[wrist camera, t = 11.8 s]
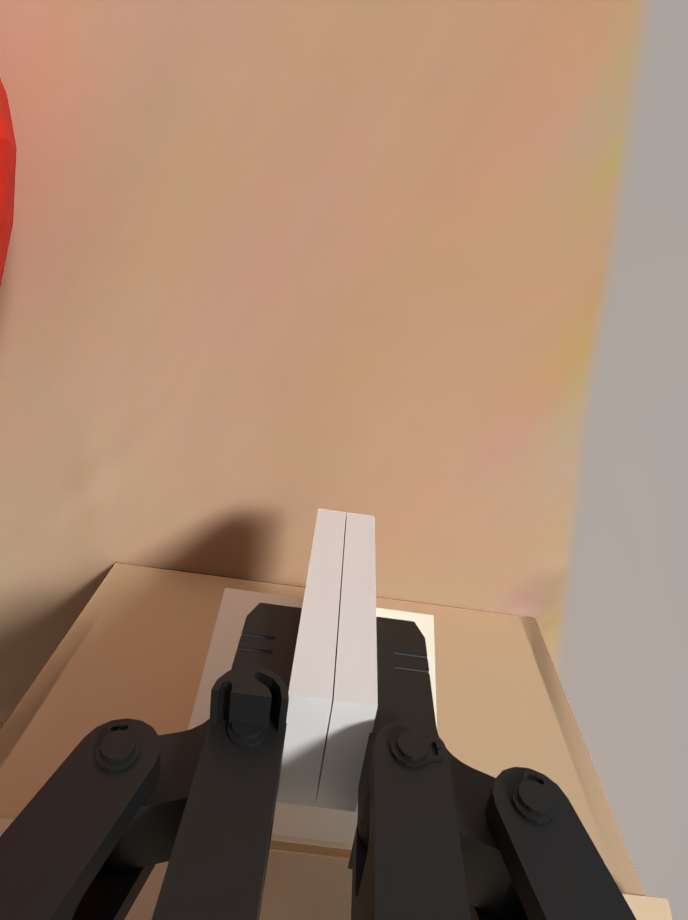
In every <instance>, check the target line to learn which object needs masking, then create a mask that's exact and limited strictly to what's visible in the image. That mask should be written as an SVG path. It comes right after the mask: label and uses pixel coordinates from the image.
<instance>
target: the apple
mask: <svg viewBox="0 0 688 920" xmlns="http://www.w3.org/2000/svg"><path fill="white" fill-rule="evenodd" d="M15 166H16V144H15V138H14V132H13V127H12V121H11V116H10V110H9V104H8V99H7V94H6V91H5V89H4V87H3V84H2V82H1V79H0V285H1V280H2V275H3V270H4V265H5V260H6V255H7V250H8V245H9V240H10V235H11V230H12V225H13V210H14V188H15Z"/></svg>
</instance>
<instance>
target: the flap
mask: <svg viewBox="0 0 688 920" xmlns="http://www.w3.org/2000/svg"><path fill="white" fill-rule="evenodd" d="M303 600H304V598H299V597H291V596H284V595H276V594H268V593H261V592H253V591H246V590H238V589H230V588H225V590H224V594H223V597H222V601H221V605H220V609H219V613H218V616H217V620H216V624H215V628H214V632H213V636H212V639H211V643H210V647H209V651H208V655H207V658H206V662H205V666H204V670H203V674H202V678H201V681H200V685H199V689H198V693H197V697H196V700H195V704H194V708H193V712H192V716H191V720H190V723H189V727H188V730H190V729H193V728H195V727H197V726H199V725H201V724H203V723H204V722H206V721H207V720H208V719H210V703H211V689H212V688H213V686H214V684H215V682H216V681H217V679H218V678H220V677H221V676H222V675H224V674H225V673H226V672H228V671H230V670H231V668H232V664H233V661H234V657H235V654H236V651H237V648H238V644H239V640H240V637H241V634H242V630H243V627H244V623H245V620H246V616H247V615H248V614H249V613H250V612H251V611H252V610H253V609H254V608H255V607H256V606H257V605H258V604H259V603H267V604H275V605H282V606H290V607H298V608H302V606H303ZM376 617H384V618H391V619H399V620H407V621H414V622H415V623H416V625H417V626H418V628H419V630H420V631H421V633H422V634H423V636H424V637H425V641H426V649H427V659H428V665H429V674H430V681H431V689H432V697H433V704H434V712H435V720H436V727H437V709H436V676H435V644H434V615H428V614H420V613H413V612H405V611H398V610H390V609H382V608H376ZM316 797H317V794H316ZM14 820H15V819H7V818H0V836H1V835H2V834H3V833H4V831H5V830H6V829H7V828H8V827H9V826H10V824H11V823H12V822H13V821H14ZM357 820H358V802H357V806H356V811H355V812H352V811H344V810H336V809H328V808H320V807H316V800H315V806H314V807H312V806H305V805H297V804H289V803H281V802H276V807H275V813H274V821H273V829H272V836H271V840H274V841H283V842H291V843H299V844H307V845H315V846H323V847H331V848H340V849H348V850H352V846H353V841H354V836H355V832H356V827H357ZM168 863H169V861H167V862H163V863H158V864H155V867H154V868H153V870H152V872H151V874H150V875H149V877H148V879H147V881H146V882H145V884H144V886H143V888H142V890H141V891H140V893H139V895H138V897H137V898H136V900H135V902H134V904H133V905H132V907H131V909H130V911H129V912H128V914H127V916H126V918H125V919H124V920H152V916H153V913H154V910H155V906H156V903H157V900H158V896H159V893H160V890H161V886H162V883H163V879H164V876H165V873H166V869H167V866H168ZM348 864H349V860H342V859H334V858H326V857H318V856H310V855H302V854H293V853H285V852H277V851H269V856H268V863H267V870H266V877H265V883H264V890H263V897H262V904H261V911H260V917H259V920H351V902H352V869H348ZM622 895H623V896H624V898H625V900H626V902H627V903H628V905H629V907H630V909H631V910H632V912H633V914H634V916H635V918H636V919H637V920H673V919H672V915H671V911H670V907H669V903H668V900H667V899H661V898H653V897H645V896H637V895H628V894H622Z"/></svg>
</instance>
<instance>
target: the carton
mask: <svg viewBox="0 0 688 920" xmlns="http://www.w3.org/2000/svg"><path fill="white" fill-rule="evenodd" d="M225 588H230V589H238V590H246V591H253V592H261V593H268V594H276V595H284V596H291V597H299V598H304V594H305V588H303V587H296V586H288V585H280V584H273V583H265V582H258V581H250V580H242V579H235V578H227V577H220V576H212V575H205V574H197V573H189V572H182V571H174V570H167V569H159V568H152V567H144V566H136V565H129V564H121V563H115V564H114V566H113V567H112V569H111V570H110V572H109V573H108V575H107V576H106V577H105V579H104V580H103V582H102V583H101V585H100V586H99V588H98V589H97V590H96V592H95V593H94V595H93V596H92V598H91V599H90V601H89V602H88V604H87V605H86V606H85V608H84V609H83V611H82V612H81V614H80V615H79V617H78V618H77V619H76V621H75V622H74V624H73V625H72V627H71V628H70V630H69V631H68V633H67V634H66V635H65V637H64V638H63V640H62V641H61V643H60V644H59V646H58V647H57V649H56V650H55V651H54V653H53V654H52V656H51V657H50V659H49V660H48V662H47V663H46V664H45V666H44V667H43V669H42V670H41V672H40V673H39V675H38V676H37V678H36V679H35V680H34V682H33V683H32V685H31V686H30V688H29V689H28V691H27V692H26V693H25V695H24V696H23V698H22V699H21V701H20V702H19V704H18V705H17V707H16V708H15V709H14V711H13V712H12V714H11V715H10V717H9V718H8V720H7V721H6V723H5V724H4V725H3V727H2V728H1V730H0V818H7V819H15V818H16V817H17V816H18V815H19V814H20V813H21V811H22V810H23V809H24V808H25V807H26V805H27V804H28V803H29V802H30V801H31V799H32V798H33V797H34V796H35V795H36V794H37V792H38V791H39V790H40V789H41V788H42V786H43V785H44V784H45V783H46V782H47V781H48V779H49V778H50V777H51V776H52V775H53V773H54V772H55V771H56V770H57V769H58V768H59V766H60V765H61V764H62V763H63V762H64V760H65V759H66V758H67V757H68V756H69V755H70V753H71V752H72V751H73V750H74V749H75V747H76V746H77V745H78V744H79V743H80V742H81V740H82V739H83V738H84V737H85V736H86V735H88V734H89V733H90V732H91V731H92V730H93V729H95V728H96V727H98V726H100V725H102V724H105V723H107V722H109V721H111V720H118V719H125V718H129V719H136V720H142V721H143V722H145V723H147V724H148V725H150V726H152V727H153V728H154V730H155V731H156V733H157V734H158V735H164V734H170V733H177V732H182V731H186V730H188V727H189V723H190V720H191V716H192V712H193V708H194V704H195V700H196V697H197V693H198V689H199V685H200V681H201V678H202V674H203V670H204V666H205V662H206V658H207V655H208V651H209V647H210V643H211V639H212V636H213V632H214V628H215V624H216V620H217V616H218V613H219V609H220V605H221V601H222V597H223V594H224V590H225ZM376 608H382V609H390V610H398V611H405V612H413V613H420V614H428V615H434V644H435V676H436V709H437V731H438V735H439V737H440V738H441V740H442V741H443V742H444V744H445V747H446V748H447V750H448V751H449V752H450V753H451V754H452V755H453V756H454V757H456V758H457V759H458V760H459V761H461V762H462V763H464V764H466V765H468V766H470V767H472V768H474V769H476V770H478V771H481V772H483V773H485V774H488V775H490V776H492V777H495V778H496V777H497V776H498V775H499V774H500V773H501V772H502V771H503V770H506V769H509V768H512V767H523V768H530V769H533V770H535V771H537V772H540V773H542V774H544V775H546V776H547V777H548V778H549V779H551V780H552V781H553V782H555V783H556V784H557V785H558V786H559V787H560V789H561V790H562V791H563V792H564V794H565V795H566V796H567V798H568V799H569V801H570V803H571V804H572V806H573V808H574V810H575V811H576V813H577V815H578V817H579V819H580V820H581V822H582V824H583V826H584V827H585V829H586V831H587V833H588V834H589V836H590V838H591V840H592V842H593V843H594V845H595V847H596V849H597V850H598V852H599V854H600V856H601V857H602V859H603V861H604V863H605V865H606V866H607V868H608V870H609V872H610V873H611V875H612V877H613V879H614V880H615V882H616V884H617V886H618V887H619V889H620V891H621V893H622V894H628V895H637V896H645V893H644V890H643V888H642V885H641V883H640V881H639V878H638V876H637V873H636V871H635V868H634V865H633V863H632V860H631V858H630V855H629V853H628V850H627V848H626V845H625V843H624V840H623V838H622V835H621V833H620V830H619V828H618V825H617V823H616V820H615V818H614V815H613V813H612V810H611V808H610V805H609V803H608V800H607V798H606V795H605V793H604V790H603V788H602V785H601V783H600V780H599V778H598V775H597V773H596V770H595V768H594V765H593V763H592V760H591V758H590V755H589V752H588V750H587V747H586V745H585V743H584V740H583V737H582V735H581V732H580V730H579V727H578V725H577V722H576V720H575V717H574V715H573V712H572V710H571V707H570V705H569V703H568V700H567V697H566V695H565V693H564V690H563V688H562V685H561V682H560V680H559V677H558V675H557V672H556V670H555V667H554V665H553V662H552V660H551V657H550V655H549V652H548V650H547V647H546V645H545V642H544V640H543V637H542V635H541V632H540V630H539V627H538V625H537V622H536V620H535V618H530V617H523V616H515V615H508V614H500V613H493V612H485V611H477V610H470V609H462V608H455V607H447V606H439V605H432V604H424V603H417V602H409V601H402V600H394V599H386V598H379V597H376ZM269 851H277V852H285V853H293V854H302V855H310V856H318V857H326V858H334V859H342V860H349V859H350V855H351V850H348V849H340V848H331V847H323V846H315V845H307V844H299V843H291V842H283V841H274V840H271V843H270V850H269Z"/></svg>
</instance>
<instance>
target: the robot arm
mask: <svg viewBox="0 0 688 920" xmlns="http://www.w3.org/2000/svg"><path fill="white" fill-rule="evenodd" d="M345 520H346V522H345ZM316 794H317V797H316ZM315 800H316V807H320V808H328V809H336V810H344V811H352V812H355V811H356V806H357V802H358V820H357V827H356V832H355V836H354V841H353V846H352V850H351V855H350V859H349V864H348V869H352V902H351V920H637V919H636V918H635V916H634V914H633V912H632V910H631V909H630V907H629V905H628V903H627V902H626V900H625V898H624V896H623V895H622V893H621V891H620V889H619V887H618V886H617V884H616V882H615V880H614V879H613V877H612V875H611V873H610V872H609V870H608V868H607V866H606V865H605V863H604V861H603V859H602V857H601V856H600V854H599V852H598V850H597V849H596V847H595V845H594V843H593V842H592V840H591V838H590V836H589V834H588V833H587V831H586V829H585V827H584V826H583V824H582V822H581V820H580V819H579V817H578V815H577V813H576V811H575V810H574V808H573V806H572V804H571V803H570V801H569V799H568V798H567V796H566V795H565V794H564V792H563V791H562V790H561V789H560V787H559V786H558V785H557V784H556V783H555V782H553V781H552V780H551V779H549V778H548V777H547V776H546V775H544V774H542V773H540V772H537V771H535V770H533V769H530V768H523V767H512V768H509V769H506V770H503V771H502V772H501V773H500V774H499V775H498V776H497V777H496V778H495V777H492V776H490V775H488V774H485V773H483V772H481V771H478V770H476V769H474V768H472V767H470V766H468V765H466V764H464V763H462V762H461V761H459V760H458V759H457V758H456V757H454V756H453V755H452V754H451V753H450V752H449V751H448V750H447V748H446V747H445V744H444V742H443V741H442V740H441V738H440V737H439V735H438V731H437V727H436V720H435V712H434V704H433V697H432V689H431V681H430V674H429V665H428V659H427V649H426V641H425V637H424V636H423V634H422V633H421V631H420V630H419V628H418V626H417V625H416V623H415V622H414V621H407V620H399V619H391V618H384V617H376V571H375V516H371V515H364V514H356V513H349V512H347V515H346V512H341V511H334V510H327V509H319V508H318V514H317V520H316V526H315V532H314V538H313V544H312V551H311V557H310V563H309V569H308V575H307V581H306V587H305V594H304V600H303V606H302V608H298V607H290V606H282V605H275V604H267V603H259V604H258V605H257V606H256V607H255V608H254V609H253V610H252V611H251V612H250V613H249V614H248V615H247V616H246V620H245V623H244V627H243V630H242V634H241V637H240V640H239V644H238V648H237V651H236V654H235V657H234V661H233V664H232V668H231V670H230V671H228V672H226V673H225V674H224V675H222V676H221V677H220V678H218V679H217V681H216V682H215V684H214V686H213V688H212V689H211V703H210V719H208V720H207V721H206V722H204V723H203V724H201V725H199V726H197V727H195V728H193V729H190V730H186V731H182V732H177V733H170V734H164V735H158V734H157V733H156V731H155V730H154V728H153V727H152V726H150V725H148V724H147V723H145V722H143V721H142V720H136V719H129V718H125V719H118V720H111V721H109V722H107V723H105V724H102V725H100V726H98V727H96V728H95V729H93V730H92V731H91V732H90V733H89V734H88V735H86V736H85V737H84V738H83V739H82V740H81V742H80V743H79V744H78V745H77V746H76V747H75V749H74V750H73V751H72V752H71V753H70V755H69V756H68V757H67V758H66V759H65V760H64V762H63V763H62V764H61V765H60V766H59V768H58V769H57V770H56V771H55V772H54V773H53V775H52V776H51V777H50V778H49V779H48V781H47V782H46V783H45V784H44V785H43V786H42V788H41V789H40V790H39V791H38V792H37V794H36V795H35V796H34V797H33V798H32V799H31V801H30V802H29V803H28V804H27V805H26V807H25V808H24V809H23V810H22V811H21V813H20V814H19V815H18V816H17V817H16V818H15V820H14V821H13V822H12V823H11V824H10V826H9V827H8V828H7V829H6V830H5V831H4V833H3V834H2V835H1V836H0V920H124V919H125V918H126V916H127V914H128V912H129V911H130V909H131V907H132V905H133V904H134V902H135V900H136V898H137V897H138V895H139V893H140V891H141V890H142V888H143V886H144V884H145V882H146V881H147V879H148V877H149V875H150V874H151V872H152V870H153V868H154V867H155V864H158V863H163V862H167V861H169V863H168V866H167V869H166V873H165V876H164V879H163V883H162V886H161V890H160V893H159V896H158V900H157V903H156V906H155V910H154V913H153V916H152V920H259V917H260V911H261V904H262V897H263V890H264V883H265V877H266V870H267V863H268V856H269V850H270V843H271V836H272V829H273V821H274V813H275V807H276V802H281V803H289V804H297V805H305V806H312V807H314V806H315Z"/></svg>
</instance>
